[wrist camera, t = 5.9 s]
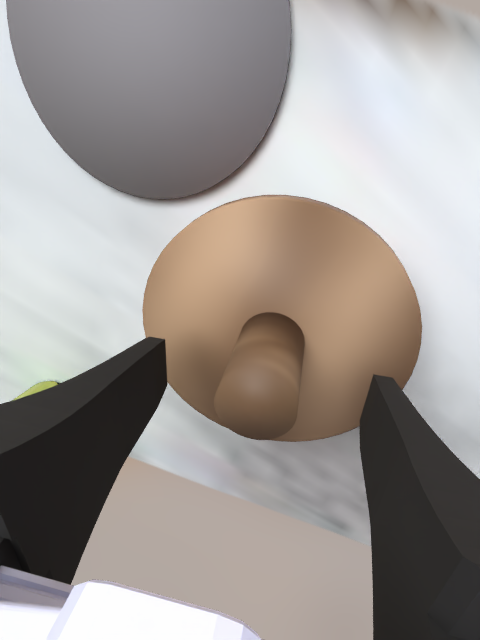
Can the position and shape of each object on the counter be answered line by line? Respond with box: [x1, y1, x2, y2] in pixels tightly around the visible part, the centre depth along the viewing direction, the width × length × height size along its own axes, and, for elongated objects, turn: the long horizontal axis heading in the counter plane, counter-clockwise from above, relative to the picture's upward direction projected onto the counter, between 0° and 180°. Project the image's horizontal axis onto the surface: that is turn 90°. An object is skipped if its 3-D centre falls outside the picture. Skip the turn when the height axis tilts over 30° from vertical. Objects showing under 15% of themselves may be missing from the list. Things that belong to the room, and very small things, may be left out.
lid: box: [143, 195, 422, 442], centre depth 14 cm, size 11×11×5 cm
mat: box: [6, 0, 291, 199], centre depth 15 cm, size 12×12×1 cm
